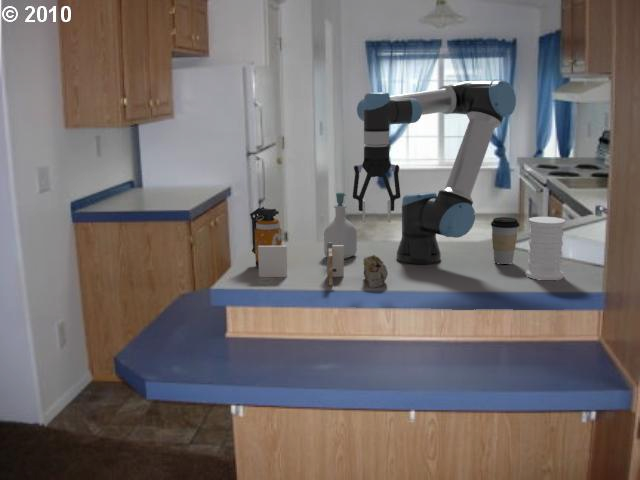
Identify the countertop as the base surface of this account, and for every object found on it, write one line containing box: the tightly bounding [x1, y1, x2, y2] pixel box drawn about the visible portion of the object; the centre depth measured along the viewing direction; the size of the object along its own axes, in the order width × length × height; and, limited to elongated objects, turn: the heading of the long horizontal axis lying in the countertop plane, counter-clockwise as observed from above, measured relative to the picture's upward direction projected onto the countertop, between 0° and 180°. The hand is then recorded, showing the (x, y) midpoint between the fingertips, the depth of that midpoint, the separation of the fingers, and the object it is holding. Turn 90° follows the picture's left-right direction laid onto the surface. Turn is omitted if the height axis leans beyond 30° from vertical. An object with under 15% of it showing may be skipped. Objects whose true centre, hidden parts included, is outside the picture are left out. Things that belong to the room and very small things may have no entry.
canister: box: [249, 206, 283, 268], centre depth 247 cm, size 9×11×20 cm
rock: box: [363, 254, 389, 289], centre depth 226 cm, size 12×7×10 cm, turn 2°
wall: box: [258, 242, 345, 278], centre depth 233 cm, size 27×2×11 cm, turn 88°
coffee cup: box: [490, 216, 521, 265], centre depth 247 cm, size 9×9×15 cm
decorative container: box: [524, 216, 566, 281], centre depth 229 cm, size 12×12×18 cm
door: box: [328, 248, 336, 286], centre depth 226 cm, size 11×2×9 cm, turn 0°
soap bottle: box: [323, 192, 358, 260], centre depth 258 cm, size 10×10×23 cm
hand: (376, 221), depth 223 cm, fingers open, 7 cm apart
